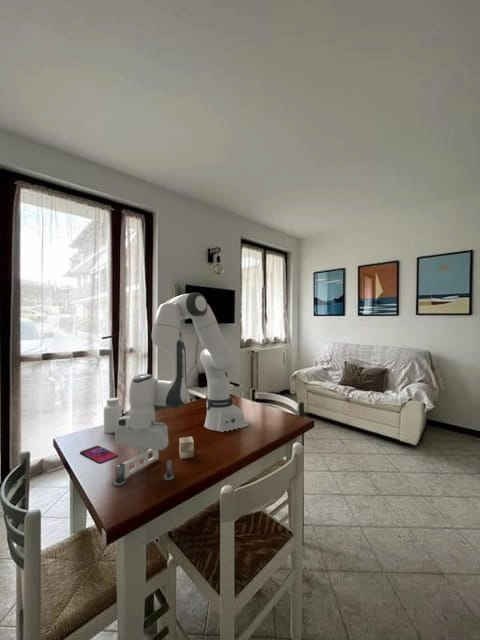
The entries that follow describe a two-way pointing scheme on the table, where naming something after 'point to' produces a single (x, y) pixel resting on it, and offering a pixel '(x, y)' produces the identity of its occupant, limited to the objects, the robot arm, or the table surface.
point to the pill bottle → (112, 414)
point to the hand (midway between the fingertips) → (141, 458)
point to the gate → (136, 462)
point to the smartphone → (98, 454)
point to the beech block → (186, 447)
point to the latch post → (169, 472)
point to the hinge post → (119, 476)
